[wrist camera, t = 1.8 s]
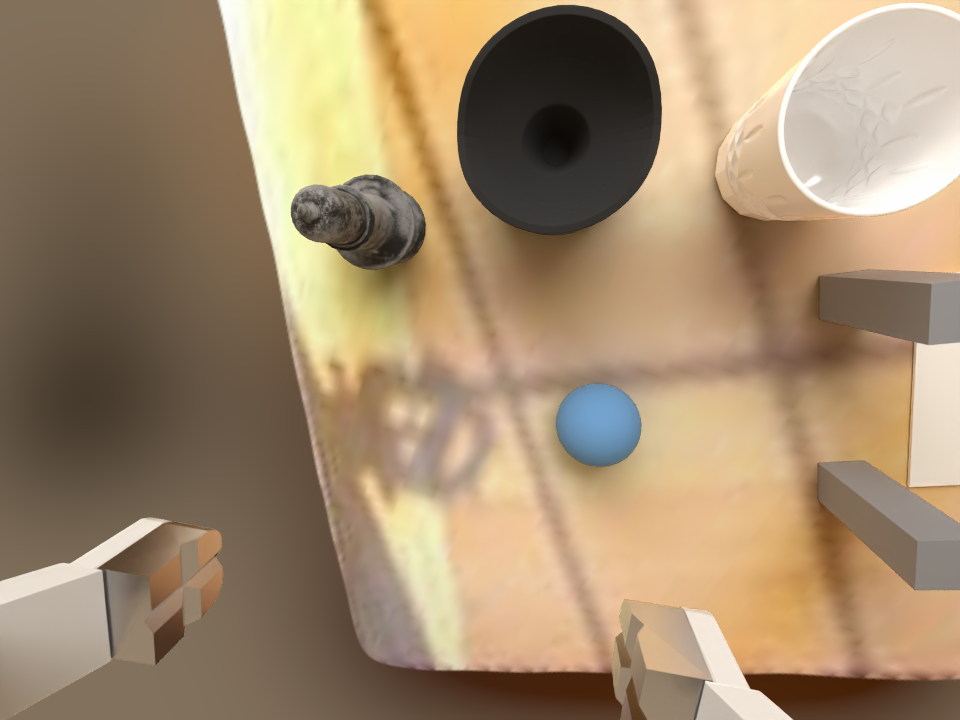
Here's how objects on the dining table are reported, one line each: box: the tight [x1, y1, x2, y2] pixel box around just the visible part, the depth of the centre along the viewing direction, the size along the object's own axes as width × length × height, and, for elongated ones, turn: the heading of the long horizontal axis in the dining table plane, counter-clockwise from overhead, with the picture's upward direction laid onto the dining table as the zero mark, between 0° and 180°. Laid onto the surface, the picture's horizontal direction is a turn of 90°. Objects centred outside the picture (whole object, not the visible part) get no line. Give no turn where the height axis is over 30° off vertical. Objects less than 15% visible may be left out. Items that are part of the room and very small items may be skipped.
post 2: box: [818, 461, 960, 590], centre depth 27 cm, size 3×3×9 cm
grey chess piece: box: [291, 175, 426, 270], centre depth 27 cm, size 6×6×12 cm
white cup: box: [715, 3, 960, 221], centre depth 23 cm, size 8×8×10 cm
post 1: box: [819, 270, 960, 345], centre depth 25 cm, size 3×3×9 cm
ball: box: [556, 383, 641, 467], centre depth 31 cm, size 6×6×6 cm
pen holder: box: [457, 5, 662, 235], centre depth 25 cm, size 9×9×10 cm
